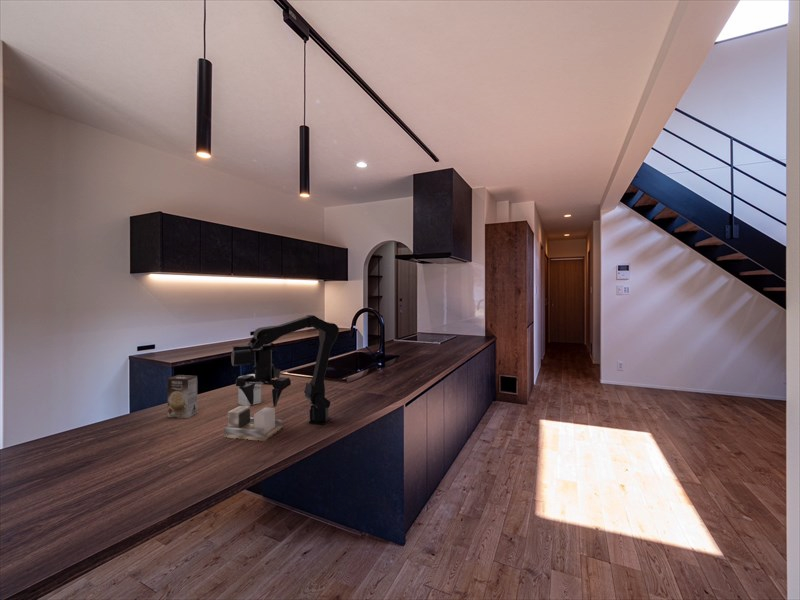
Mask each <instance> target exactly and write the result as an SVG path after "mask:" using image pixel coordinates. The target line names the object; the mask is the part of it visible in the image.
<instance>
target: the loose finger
mask: <svg viewBox="0 0 800 600" xmlns="http://www.w3.org/2000/svg"><path fill="white" fill-rule="evenodd" d="M253 417H254V429H256V430H267V432H269V431H270V430H271V429H273V428H274V427H275V419H276V408H275V407H263V408H262V409H260V410H259V411H257V412H255V413H254V414H253Z"/></svg>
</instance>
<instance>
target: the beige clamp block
mask: <svg viewBox="0 0 800 600" xmlns="http://www.w3.org/2000/svg"><path fill="white" fill-rule="evenodd" d="M281 428H282V429H283V419H279V418H278V419H277V418H275V427H274V428H273V429H271V430H270V431H269V432H267V430H256V429H254V416H253V417H252V416H251V405H250V406H243V405H239V406H237V407H235V408H233V409H231V410H229V411H228V412H227V426H225V427H223V438H226V437H227V438H228V439H236V438H238V439H239V440H247V439H248V440H250V441H258V440H259V442H261V441H262V442H266V441H267V440H269V439H270V438H271V437H272V436H274V435H275V434H277V433H278V432H279V431H281V430H282V429H281ZM277 431H278V432H277ZM273 434H274V435H273ZM269 437H270V438H269ZM227 438H226V439H227ZM268 438H269V439H268ZM238 439H237V440H238Z"/></svg>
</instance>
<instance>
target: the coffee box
mask: <svg viewBox="0 0 800 600" xmlns="http://www.w3.org/2000/svg"><path fill="white" fill-rule="evenodd" d="M196 413H197V414H198V375H189V374H188V375H186V374H177V375H174V376H170V377H168V378H167V417H168V418H174V417H177V418H178V419H189V418H191V417H193V416H194V414H195V415H197V414H196Z"/></svg>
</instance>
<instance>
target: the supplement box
mask: <svg viewBox="0 0 800 600" xmlns="http://www.w3.org/2000/svg"><path fill="white" fill-rule="evenodd" d="M249 375H251V376H254V377H255V373H250V374H249ZM242 376H243V375H241V376H238V377H237V378H239V377H242ZM237 387H238V389H237V393H238V394H237V397H238V399H237V400H238V401H237V402H238V405H240V406H250V407H251V405H250V403H249V401H248V399H247V397H246V396H245V394H244V393H243V391H242V390H241V389H239V387H240V386H237ZM253 391H254V401H253V405H257V404H261V403H262V384H255V386H254V389H253ZM253 405H252V406H253Z"/></svg>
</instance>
